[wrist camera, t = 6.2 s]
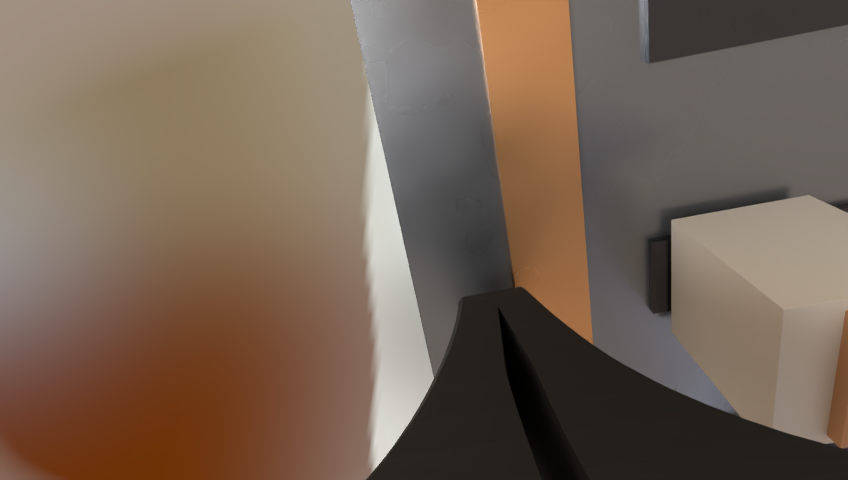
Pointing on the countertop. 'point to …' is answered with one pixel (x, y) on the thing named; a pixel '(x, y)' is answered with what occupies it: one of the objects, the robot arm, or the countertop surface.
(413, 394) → the countertop surface
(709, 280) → the block
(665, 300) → the breaker panel
